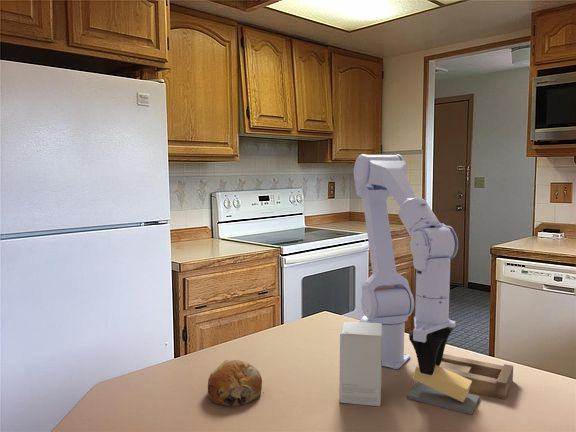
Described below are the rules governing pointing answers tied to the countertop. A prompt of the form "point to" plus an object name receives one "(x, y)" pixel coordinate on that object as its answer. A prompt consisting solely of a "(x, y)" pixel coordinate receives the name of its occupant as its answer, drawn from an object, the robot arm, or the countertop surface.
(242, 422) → the countertop surface
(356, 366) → the supplement box
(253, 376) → the bread roll
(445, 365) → the pocket board
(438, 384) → the bar
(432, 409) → the countertop surface
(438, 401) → the mat
